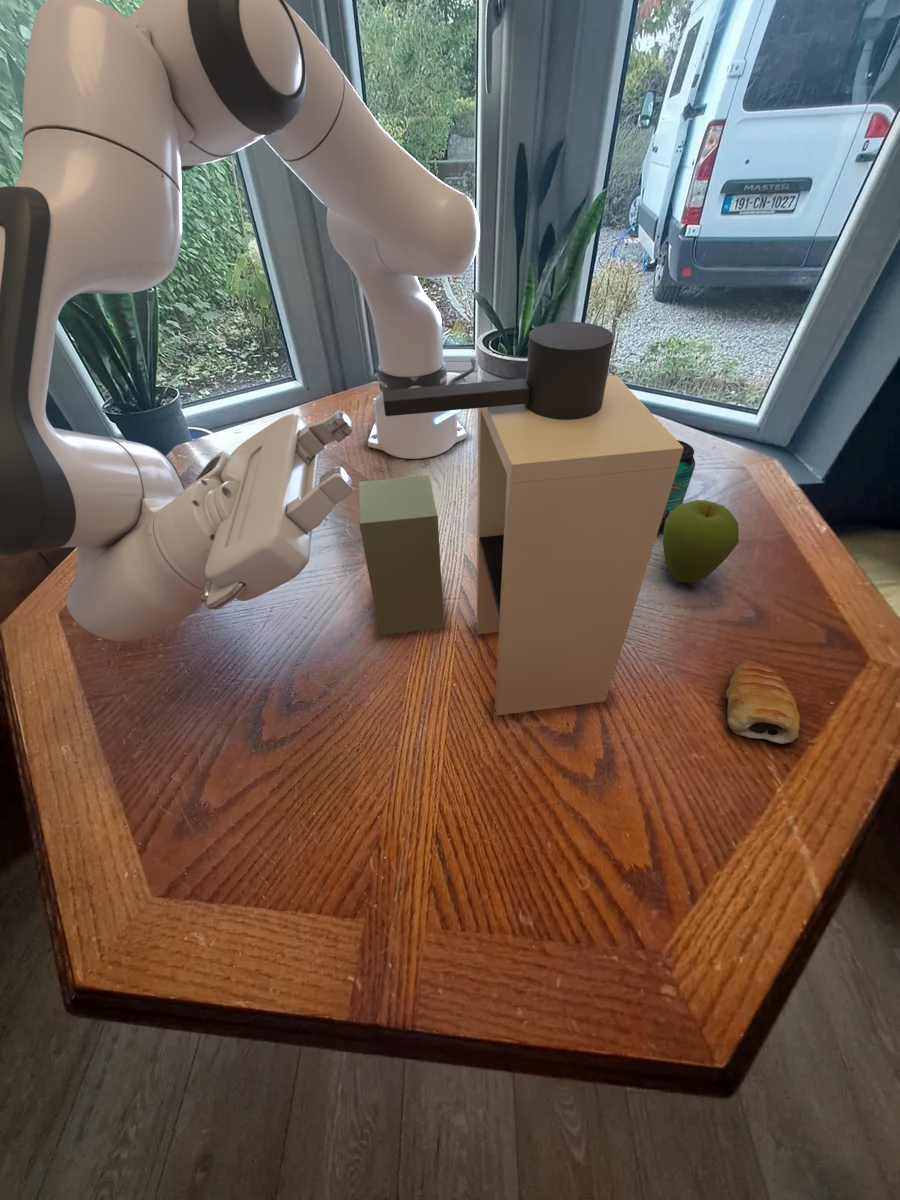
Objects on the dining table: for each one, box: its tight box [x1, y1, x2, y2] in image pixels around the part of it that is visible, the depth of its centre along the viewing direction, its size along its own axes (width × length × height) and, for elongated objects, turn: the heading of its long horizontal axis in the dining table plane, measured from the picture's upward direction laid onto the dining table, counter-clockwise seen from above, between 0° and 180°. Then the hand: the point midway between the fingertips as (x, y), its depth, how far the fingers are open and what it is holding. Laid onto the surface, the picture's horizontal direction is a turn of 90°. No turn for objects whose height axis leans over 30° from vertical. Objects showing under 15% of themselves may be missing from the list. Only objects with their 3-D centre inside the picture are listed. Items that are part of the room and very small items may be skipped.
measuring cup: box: [383, 321, 615, 420], centre depth 39 cm, size 6×17×5 cm, turn 98°
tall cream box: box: [476, 374, 684, 716], centre depth 50 cm, size 13×12×30 cm
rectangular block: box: [358, 474, 445, 636], centre depth 61 cm, size 8×8×17 cm
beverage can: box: [658, 439, 696, 533], centre depth 75 cm, size 7×7×12 cm
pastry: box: [725, 660, 801, 745], centre depth 54 cm, size 9×7×4 cm
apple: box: [662, 499, 740, 584], centre depth 66 cm, size 9×8×12 cm
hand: (347, 446), depth 41 cm, fingers open, 8 cm apart
